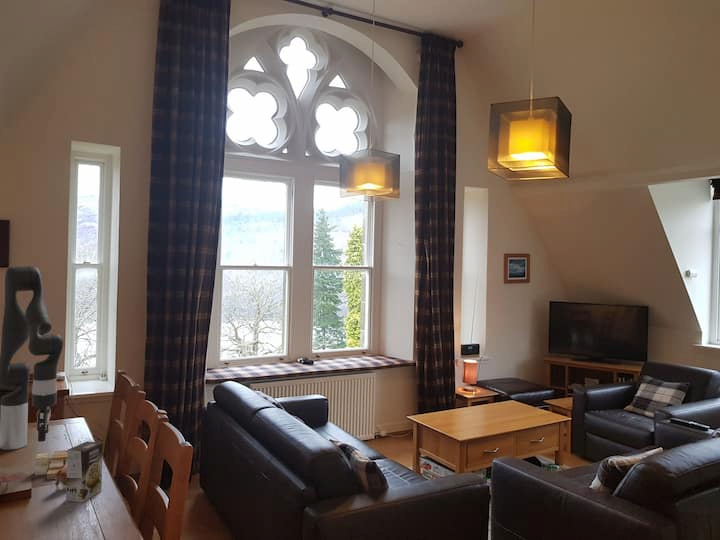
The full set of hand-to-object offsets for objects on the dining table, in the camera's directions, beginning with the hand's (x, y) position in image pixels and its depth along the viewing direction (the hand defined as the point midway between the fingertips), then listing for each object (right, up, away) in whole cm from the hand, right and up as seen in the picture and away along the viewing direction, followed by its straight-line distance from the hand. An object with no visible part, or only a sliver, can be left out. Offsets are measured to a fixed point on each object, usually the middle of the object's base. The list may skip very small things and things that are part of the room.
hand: (43, 437), depth 193 cm
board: (+2, -13, +6) cm, 14 cm away
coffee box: (+23, -14, -18) cm, 32 cm away
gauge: (+2, -12, +1) cm, 13 cm away
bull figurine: (+15, -13, -10) cm, 23 cm away
